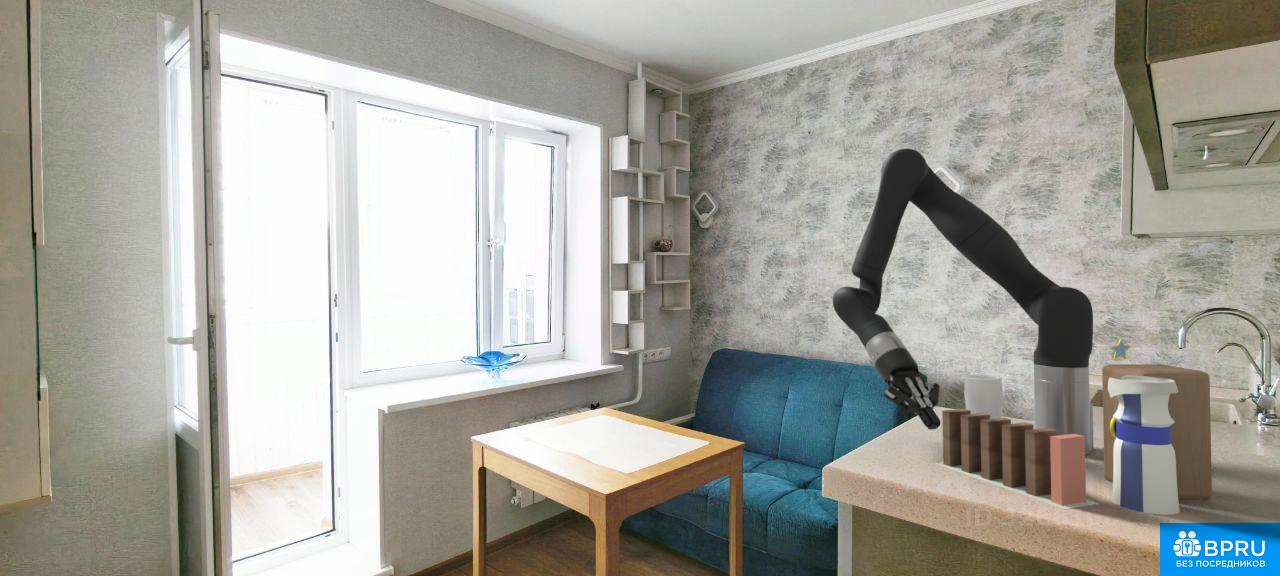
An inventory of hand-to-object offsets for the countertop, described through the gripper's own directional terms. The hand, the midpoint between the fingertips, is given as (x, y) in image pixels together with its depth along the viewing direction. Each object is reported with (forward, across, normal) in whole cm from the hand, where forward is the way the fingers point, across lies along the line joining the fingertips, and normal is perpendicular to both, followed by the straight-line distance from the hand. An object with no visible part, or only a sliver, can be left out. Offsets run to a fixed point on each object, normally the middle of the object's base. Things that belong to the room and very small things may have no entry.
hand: (935, 427), depth 115 cm
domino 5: (+20, 0, -11) cm, 23 cm away
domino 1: (+8, 0, 0) cm, 8 cm away
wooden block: (+23, +19, -14) cm, 33 cm away
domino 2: (+11, 0, -2) cm, 11 cm away
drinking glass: (+3, +14, +6) cm, 16 cm away
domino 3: (+14, 0, -6) cm, 15 cm away
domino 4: (+17, 0, -8) cm, 19 cm away
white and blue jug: (+26, +9, -17) cm, 33 cm away
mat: (+15, 0, -7) cm, 17 cm away
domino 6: (+22, 0, -14) cm, 27 cm away
